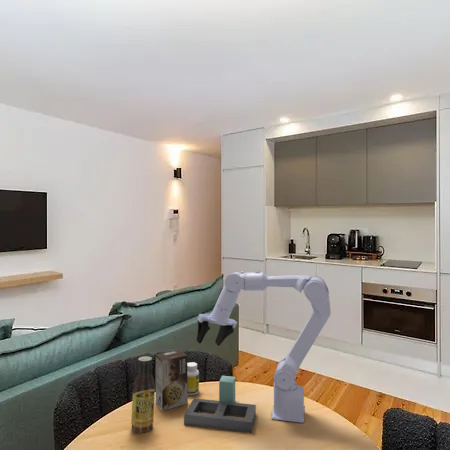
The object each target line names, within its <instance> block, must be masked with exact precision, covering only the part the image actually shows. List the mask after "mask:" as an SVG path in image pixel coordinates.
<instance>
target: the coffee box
mask: <svg viewBox="0 0 450 450" xmlns="http://www.w3.org/2000/svg"><path fill="white" fill-rule="evenodd" d="M187 363H188V355H187V354H186V353H185V351H182V350H181V349H175V350H170V351H167V352H162V353H155V404H156V406H158V408H159V409H160V410H161V411H162V412H164V411H167V410H170V409H174V408H177V407H180V406H183V405H187V404H188V402H189V398H188V397H189V395H188V381H187Z"/></svg>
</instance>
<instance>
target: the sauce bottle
mask: <svg viewBox="0 0 450 450" xmlns="http://www.w3.org/2000/svg"><path fill="white" fill-rule="evenodd" d="M152 364H153V357H151V356H148V355H147V356H146V355H145V356H140V357H138V360H137V365H138V371H137V376H136V377H135V379H134V381H133V385H132V386H133V390H132V400H131V401H132V402H131V403H132V404H131V422H130V423H131V430H132V431H133V432H134V433H138V434H141V433H146V432H148V431H150V430H151V429H152V427H153V425H154V417H155V416H154V415H155V396H156V382H155V378H154V376H153V374H152Z"/></svg>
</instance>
